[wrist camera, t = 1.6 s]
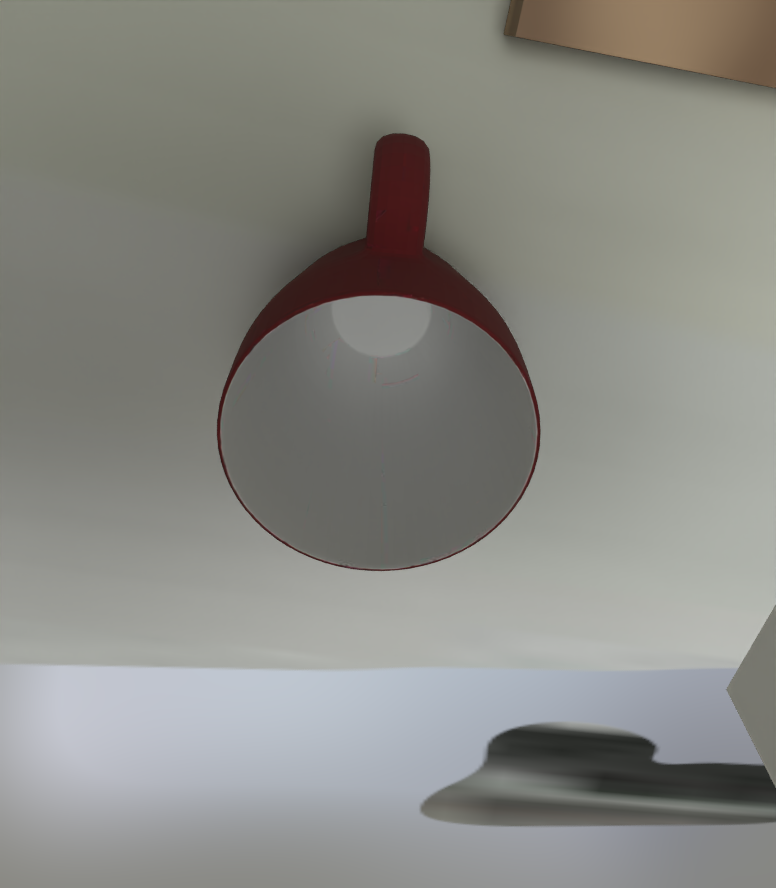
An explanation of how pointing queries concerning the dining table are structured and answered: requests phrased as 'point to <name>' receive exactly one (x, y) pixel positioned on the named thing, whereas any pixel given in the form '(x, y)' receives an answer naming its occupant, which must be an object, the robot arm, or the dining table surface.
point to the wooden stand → (660, 32)
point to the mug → (380, 396)
